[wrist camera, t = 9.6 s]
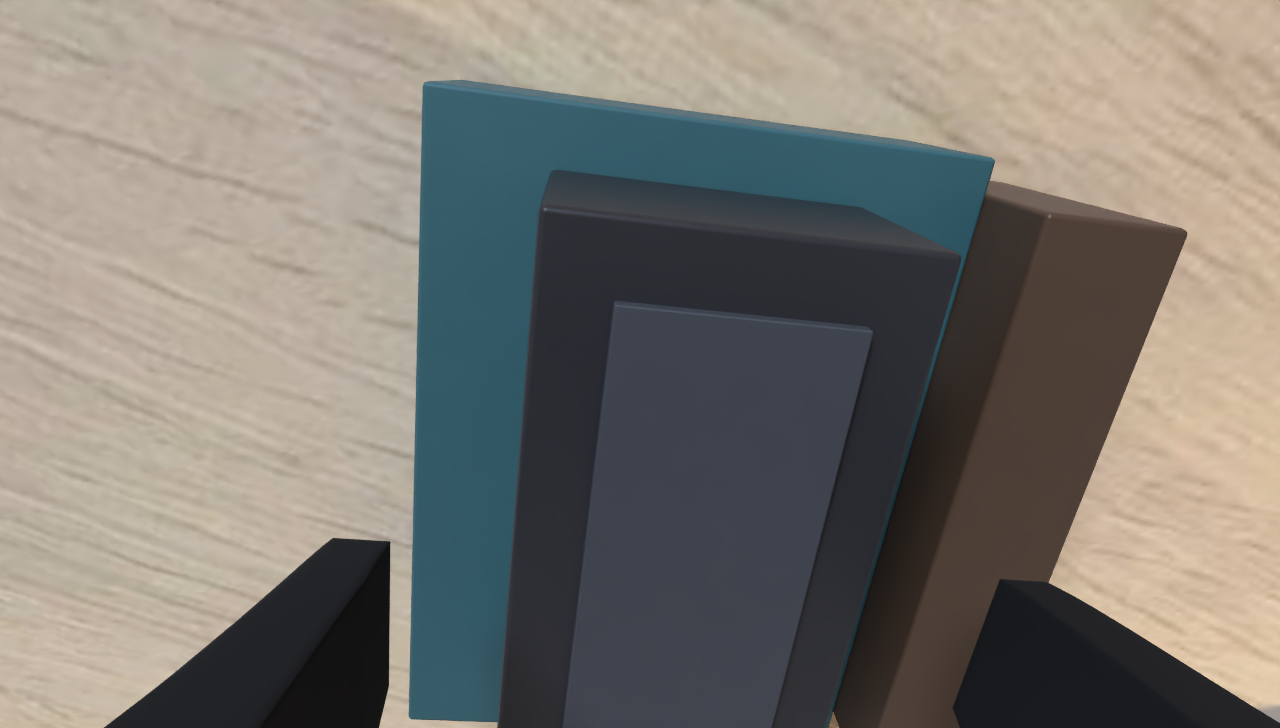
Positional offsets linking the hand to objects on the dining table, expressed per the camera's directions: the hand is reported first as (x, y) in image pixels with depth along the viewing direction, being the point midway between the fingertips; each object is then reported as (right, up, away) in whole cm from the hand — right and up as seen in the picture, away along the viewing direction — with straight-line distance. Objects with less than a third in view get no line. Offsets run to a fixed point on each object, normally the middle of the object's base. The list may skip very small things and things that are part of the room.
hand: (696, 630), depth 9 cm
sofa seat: (0, +2, +6) cm, 7 cm away
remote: (0, +1, +3) cm, 4 cm away
